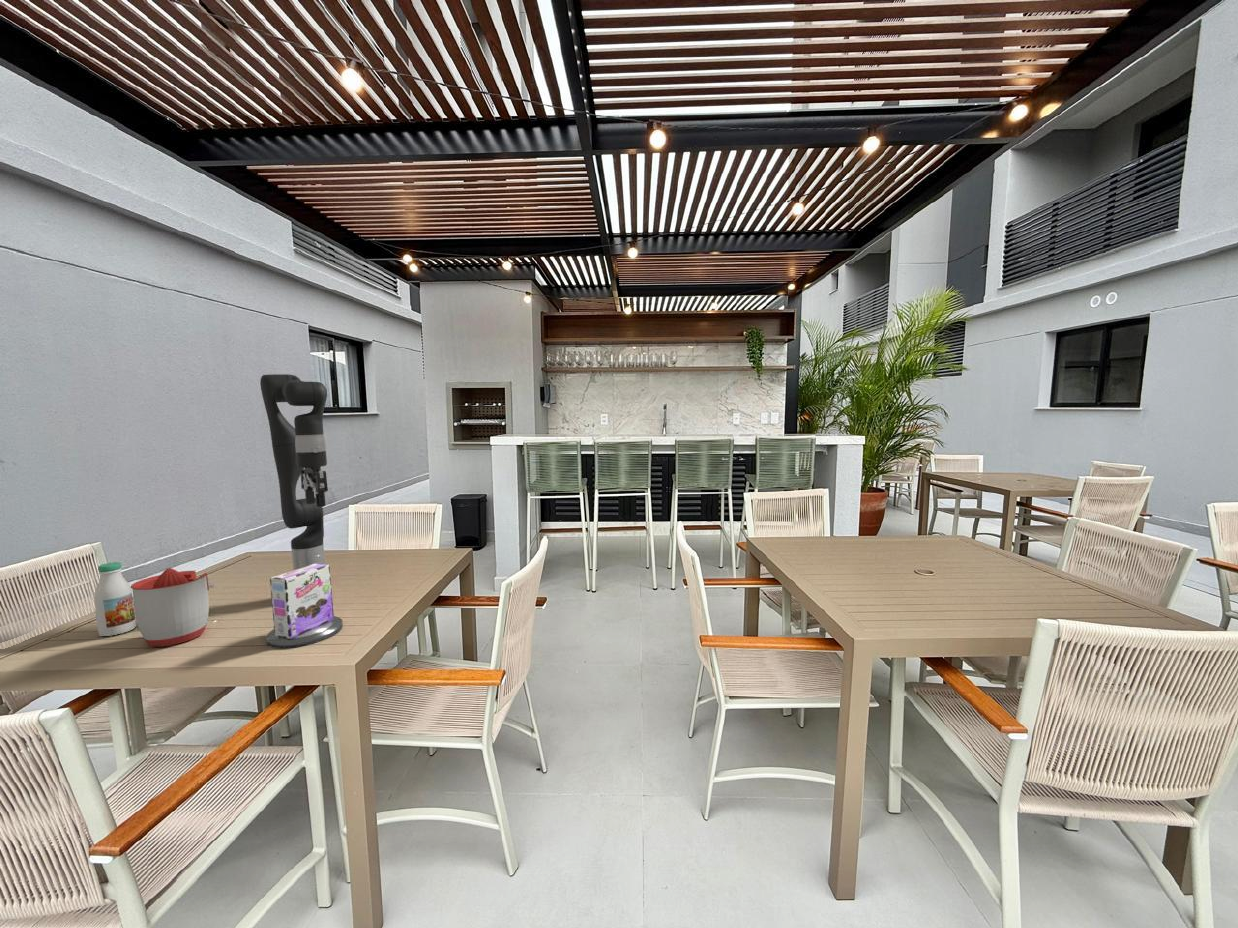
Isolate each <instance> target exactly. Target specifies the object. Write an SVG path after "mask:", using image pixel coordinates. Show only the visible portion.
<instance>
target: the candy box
mask: <svg viewBox="0 0 1238 928" xmlns="http://www.w3.org/2000/svg"><path fill="white" fill-rule="evenodd" d="M331 580H332V578H331V571H330V564H326V563H325V564H312V565H309V566H306V567H303V568H300V569H297V570H294V571H293V570H291V571H288V572H285V573H281V574H278V575H275V576H271V577H269V583H270V585H269V586H270V596H271V608H272V619H273V620H272V621H273V629H274V634H275V636H277V637H282V638H287V639H291V638H293V637H296V636H298V635H300V634H302V633H304V632H307V631H309V630H311V629H313V628H316V627H318V626H320V625H322V624H324V623H327V622H329V621H331V620H333V619H334V615H335V614H334V604H333V591H332V581H331Z"/></svg>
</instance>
